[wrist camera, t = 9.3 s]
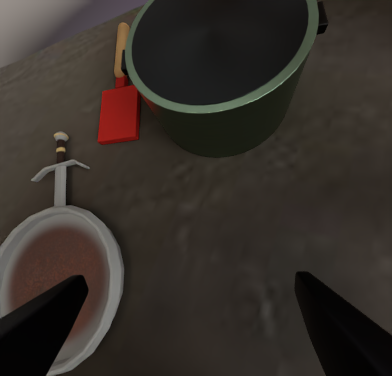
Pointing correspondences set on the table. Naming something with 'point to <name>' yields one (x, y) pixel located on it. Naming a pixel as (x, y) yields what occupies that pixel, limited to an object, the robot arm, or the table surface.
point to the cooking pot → (220, 67)
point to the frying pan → (64, 265)
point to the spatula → (120, 102)
